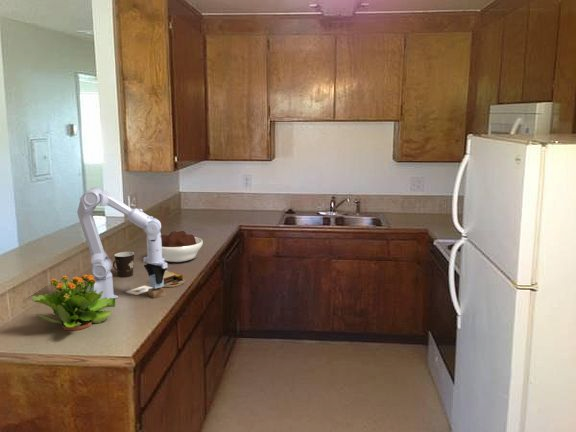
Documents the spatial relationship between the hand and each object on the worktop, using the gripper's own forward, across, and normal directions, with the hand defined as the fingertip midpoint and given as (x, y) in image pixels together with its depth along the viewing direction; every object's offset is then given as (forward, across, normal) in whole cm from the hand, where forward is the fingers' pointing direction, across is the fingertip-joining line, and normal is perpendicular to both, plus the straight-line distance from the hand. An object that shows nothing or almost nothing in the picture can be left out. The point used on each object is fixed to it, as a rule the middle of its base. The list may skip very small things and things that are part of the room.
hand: (156, 282), depth 213 cm
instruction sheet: (+6, +11, +1) cm, 12 cm away
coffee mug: (+6, +35, -4) cm, 36 cm away
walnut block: (+6, 0, 0) cm, 6 cm away
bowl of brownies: (+6, +40, -38) cm, 55 cm away
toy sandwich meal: (+6, +10, -12) cm, 17 cm away
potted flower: (+6, -7, +37) cm, 38 cm away
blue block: (+2, 0, 0) cm, 2 cm away
